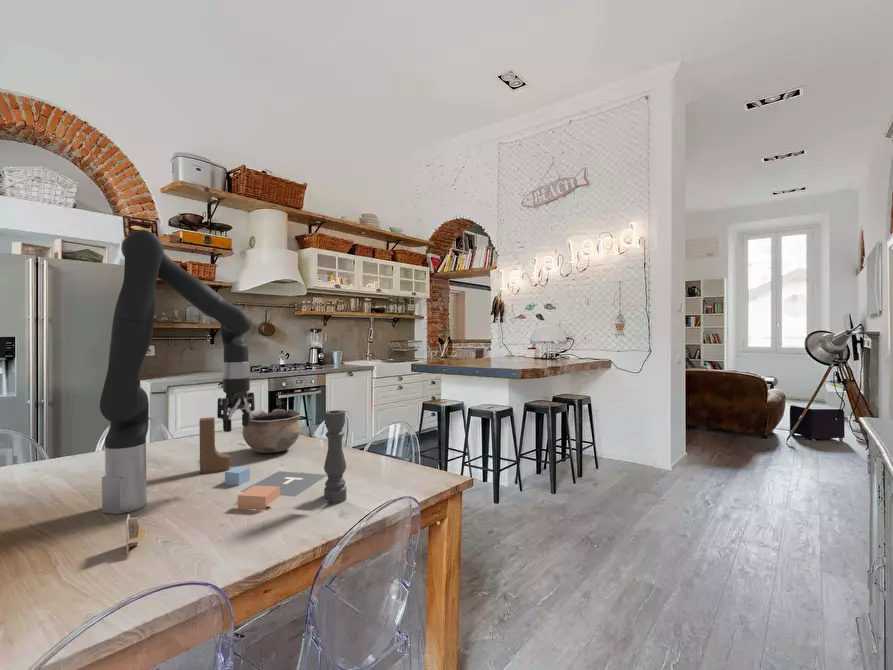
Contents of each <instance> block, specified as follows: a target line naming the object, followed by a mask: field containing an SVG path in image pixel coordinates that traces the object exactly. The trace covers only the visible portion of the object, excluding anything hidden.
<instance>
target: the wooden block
mask: <svg viewBox="0 0 893 670" xmlns="http://www.w3.org/2000/svg"><path fill="white" fill-rule="evenodd" d="M215 422H216V420H215V417H201V418H200V419H199V473H200V474H208V473H207V472H209V473H216V472H215V471H217V472H225V471H228V470H231V469H230V468H231V467H230V463H231V462H230V454H227V453H220V451H218V450H217V448H216V423H215ZM224 470H225V471H224Z"/></svg>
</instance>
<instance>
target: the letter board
mask: <svg viewBox="0 0 893 670" xmlns="http://www.w3.org/2000/svg"><path fill="white" fill-rule="evenodd" d="M327 476H328V475H327V474H321V473H320V474H319V473H308V472H307V473H306V472H297V471H296V472H295V471H294V472H293V471H285V470H283V471H281V470H279V471H277V472H275V473H272V474H271V475H269V476H267V477H265V478H264V479H261V480H259V481H258V482H256V483H254V484H251V485H250V486H248V487H245V488H244V489H242V490H240V493H242V492H244V491H246V490H247V489H249V488H251V487H252V486H254V485H256V486H277V487H280V496H281V497H282V496H283V497H297V496H298V495H300V494H301V493H303V492H304V491H306V490H307V489H309V488H310V487H312V486H314V485H315V484H316V483H318V482H320V481H322V480H324V478H326V477H327Z"/></svg>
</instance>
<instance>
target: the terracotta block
mask: <svg viewBox="0 0 893 670" xmlns="http://www.w3.org/2000/svg"><path fill="white" fill-rule="evenodd" d="M251 486H252V485H251ZM280 496H281V495H280V487H277V486H256V485H254V486H252V487H251V488H249V489H247V490H246V491H244V492H240V493H239V494H237V509H238V510H247V509H256V510H255V511H265V510H266V511H267V510H268V509H270V508H271V505H270V504H271V503H272V502H274V501H275V500H277V499H278V498H279V497H280Z"/></svg>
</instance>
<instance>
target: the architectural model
mask: <svg viewBox="0 0 893 670" xmlns="http://www.w3.org/2000/svg"><path fill="white" fill-rule="evenodd" d="M125 528H126V529H125V531H126V535H125V536H126V541H125V542H126V555H127V554H128V555H129V552H128V551H129V550H130V548H134V547H138V546H137V544H139V543H138V541H139V542H142V541H145V540H146V535H147V526H145V527H140V522H139V520H138V517H137V516H136V517H131V518H130V513H128V514H127V518H126V522H125ZM133 546H134V547H133Z"/></svg>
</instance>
